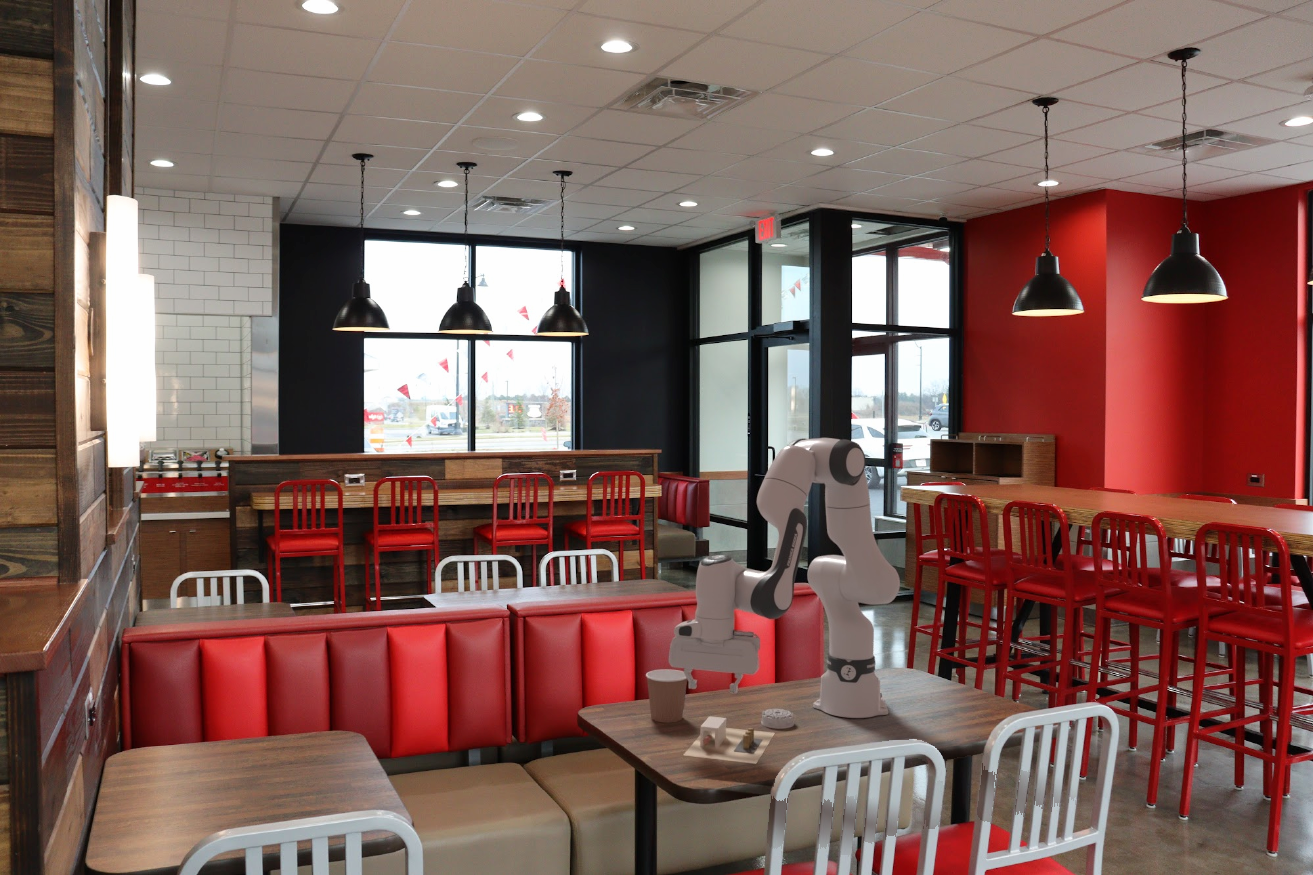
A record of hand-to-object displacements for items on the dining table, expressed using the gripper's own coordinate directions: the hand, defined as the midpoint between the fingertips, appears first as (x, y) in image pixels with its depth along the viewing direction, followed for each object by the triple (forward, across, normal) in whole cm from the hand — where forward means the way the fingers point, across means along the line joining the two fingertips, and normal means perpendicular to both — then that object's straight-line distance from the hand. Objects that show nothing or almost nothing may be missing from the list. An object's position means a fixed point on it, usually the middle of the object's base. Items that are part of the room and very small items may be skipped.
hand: (712, 690), depth 229 cm
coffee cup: (+13, +15, -14) cm, 25 cm away
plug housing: (+12, 0, +1) cm, 12 cm away
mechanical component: (+13, -12, -19) cm, 26 cm away
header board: (+13, -4, 0) cm, 14 cm away
